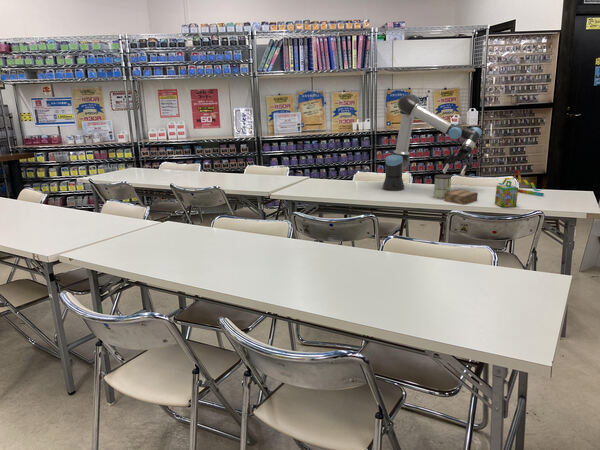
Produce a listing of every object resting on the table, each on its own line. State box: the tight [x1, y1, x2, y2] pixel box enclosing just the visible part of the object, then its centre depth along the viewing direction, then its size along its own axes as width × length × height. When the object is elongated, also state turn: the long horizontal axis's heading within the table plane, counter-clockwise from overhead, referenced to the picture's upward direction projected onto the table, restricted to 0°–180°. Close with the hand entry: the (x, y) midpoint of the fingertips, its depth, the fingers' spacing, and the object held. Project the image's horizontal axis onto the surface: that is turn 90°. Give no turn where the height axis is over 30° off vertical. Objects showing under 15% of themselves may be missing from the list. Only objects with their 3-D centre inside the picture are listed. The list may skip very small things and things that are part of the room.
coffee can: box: [433, 174, 452, 200], centre depth 302 cm, size 10×10×14 cm
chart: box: [497, 169, 545, 197], centre depth 308 cm, size 30×3×15 cm, turn 35°
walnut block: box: [444, 189, 479, 205], centre depth 292 cm, size 14×14×5 cm
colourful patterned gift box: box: [494, 180, 519, 208], centre depth 277 cm, size 9×9×15 cm
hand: (452, 173), depth 305 cm, fingers open, 13 cm apart
